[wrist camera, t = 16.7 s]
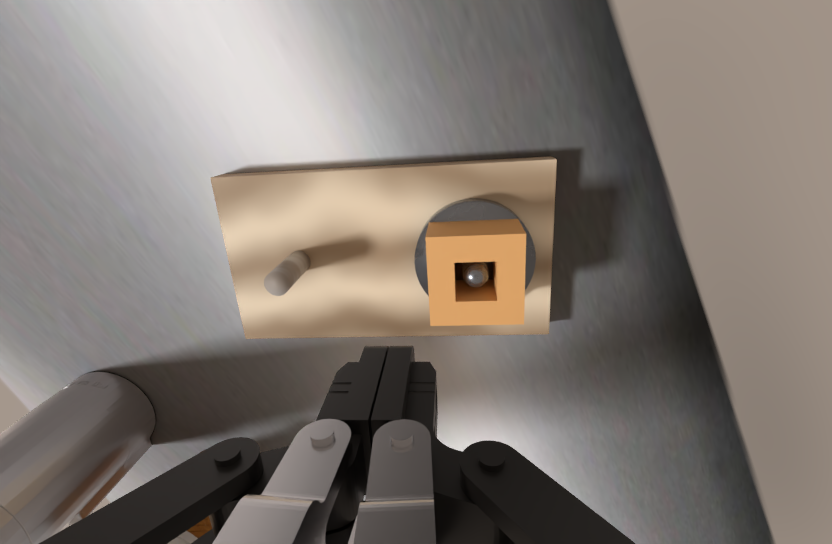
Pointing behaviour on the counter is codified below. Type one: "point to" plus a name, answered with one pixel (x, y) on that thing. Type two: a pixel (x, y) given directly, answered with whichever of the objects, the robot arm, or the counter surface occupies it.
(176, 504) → the robot arm
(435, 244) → the collar
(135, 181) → the counter surface
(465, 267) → the hub
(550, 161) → the stand board
